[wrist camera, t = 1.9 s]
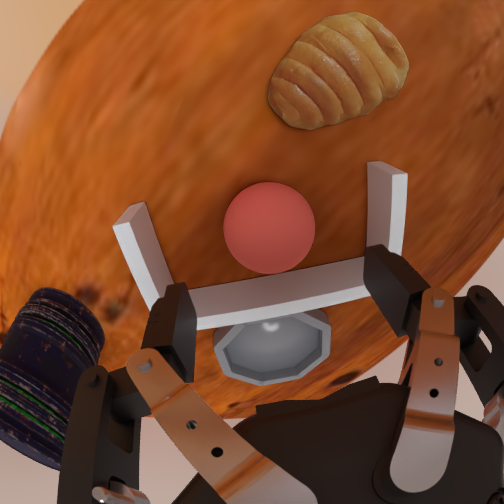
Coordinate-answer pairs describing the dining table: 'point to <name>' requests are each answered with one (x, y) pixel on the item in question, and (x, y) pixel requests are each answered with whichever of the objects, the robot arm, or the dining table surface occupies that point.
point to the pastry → (337, 72)
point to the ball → (269, 227)
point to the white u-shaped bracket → (278, 285)
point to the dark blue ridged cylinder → (45, 372)
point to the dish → (273, 347)
